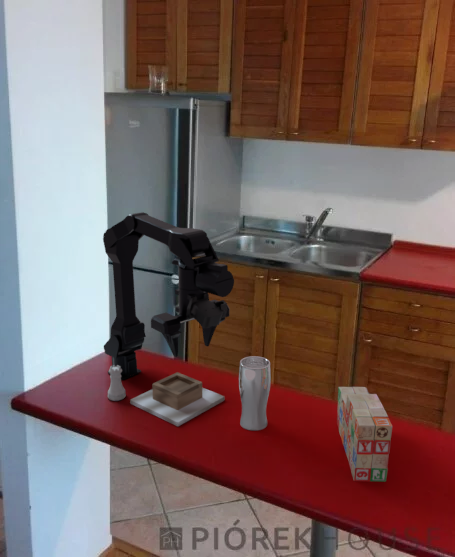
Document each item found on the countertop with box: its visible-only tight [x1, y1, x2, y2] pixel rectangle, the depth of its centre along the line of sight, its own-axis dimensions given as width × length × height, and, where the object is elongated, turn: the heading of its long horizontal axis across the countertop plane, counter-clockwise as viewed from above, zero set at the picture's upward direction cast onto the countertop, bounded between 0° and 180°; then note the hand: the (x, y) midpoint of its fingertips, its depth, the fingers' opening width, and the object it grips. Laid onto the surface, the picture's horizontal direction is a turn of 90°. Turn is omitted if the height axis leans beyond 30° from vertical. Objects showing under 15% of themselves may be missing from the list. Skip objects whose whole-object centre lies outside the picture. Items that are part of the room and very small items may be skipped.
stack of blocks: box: [336, 386, 393, 483], centre depth 117 cm, size 21×6×12 cm, turn 179°
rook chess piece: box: [107, 365, 127, 402], centre depth 139 cm, size 4×4×8 cm
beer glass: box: [238, 355, 272, 432], centre depth 127 cm, size 7×7×15 cm
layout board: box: [129, 371, 226, 427], centre depth 137 cm, size 16×16×5 cm
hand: (191, 350), depth 132 cm, fingers open, 9 cm apart
